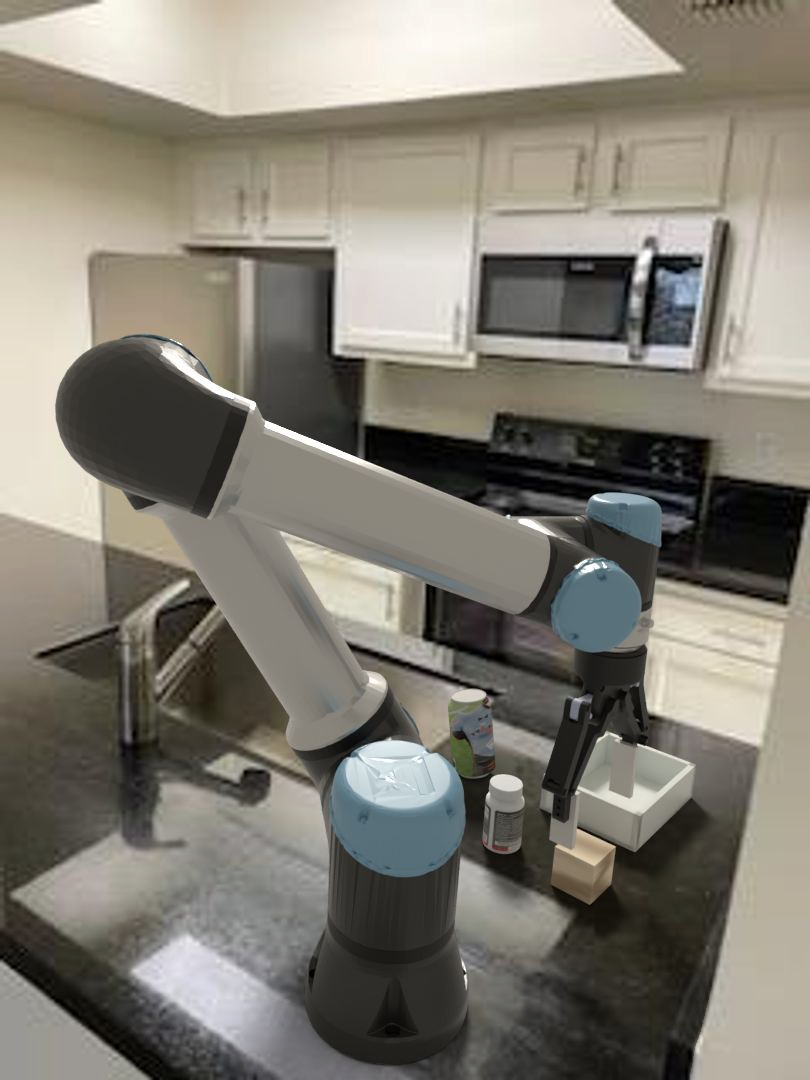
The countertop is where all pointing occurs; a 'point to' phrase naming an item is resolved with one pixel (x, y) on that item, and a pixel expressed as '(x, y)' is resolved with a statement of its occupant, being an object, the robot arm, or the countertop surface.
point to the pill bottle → (504, 814)
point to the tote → (651, 806)
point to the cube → (584, 867)
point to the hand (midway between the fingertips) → (592, 817)
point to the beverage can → (471, 733)
